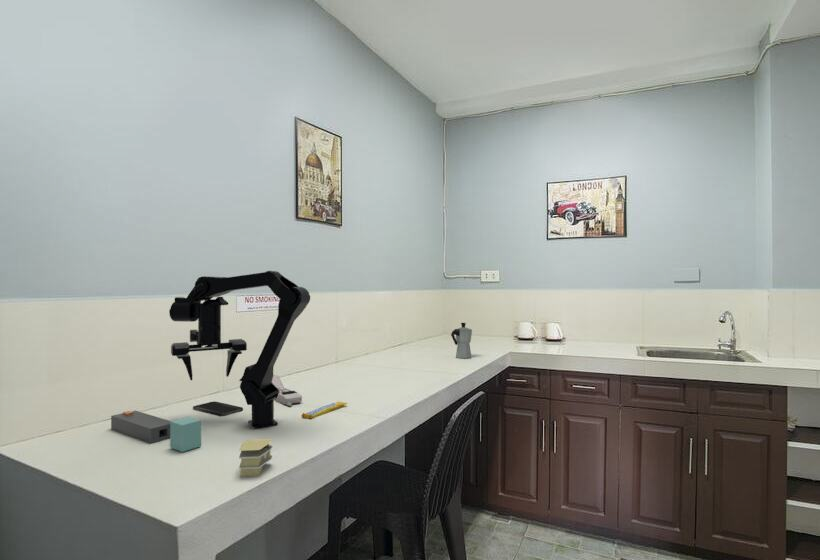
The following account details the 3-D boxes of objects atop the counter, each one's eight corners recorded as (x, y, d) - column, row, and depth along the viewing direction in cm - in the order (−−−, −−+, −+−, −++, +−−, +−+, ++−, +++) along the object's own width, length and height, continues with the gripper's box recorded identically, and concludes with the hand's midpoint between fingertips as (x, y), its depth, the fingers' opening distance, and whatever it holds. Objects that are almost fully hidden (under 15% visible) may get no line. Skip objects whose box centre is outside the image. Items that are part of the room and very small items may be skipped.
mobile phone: (277, 374, 164) (305, 386, 144) (277, 390, 164) (306, 405, 144) (260, 376, 161) (287, 389, 140) (261, 393, 161) (287, 408, 140)
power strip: (175, 436, 114) (175, 420, 114) (150, 443, 109) (150, 426, 109) (135, 423, 125) (135, 408, 125) (111, 429, 120) (111, 413, 120)
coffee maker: (465, 355, 243) (465, 321, 243) (478, 357, 236) (478, 322, 237) (445, 358, 234) (445, 323, 234) (458, 360, 227) (457, 324, 227)
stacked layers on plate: (272, 480, 89) (272, 452, 89) (225, 482, 88) (225, 453, 88) (282, 461, 99) (282, 435, 99) (239, 462, 98) (239, 436, 98)
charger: (201, 446, 106) (201, 420, 106) (182, 452, 103) (182, 425, 103) (182, 440, 111) (182, 415, 111) (164, 445, 107) (164, 419, 107)
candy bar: (310, 421, 127) (310, 415, 127) (299, 419, 130) (299, 413, 130) (347, 407, 142) (347, 401, 142) (337, 405, 144) (337, 399, 144)
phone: (221, 414, 131) (191, 406, 139) (221, 418, 131) (191, 410, 139) (244, 407, 138) (214, 400, 146) (244, 411, 138) (214, 404, 146)
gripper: (239, 318, 138) (239, 370, 138) (169, 321, 128) (169, 377, 128) (247, 321, 129) (247, 376, 128) (172, 324, 119) (172, 384, 119)
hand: (209, 378), depth 126 cm, fingers open, 9 cm apart
